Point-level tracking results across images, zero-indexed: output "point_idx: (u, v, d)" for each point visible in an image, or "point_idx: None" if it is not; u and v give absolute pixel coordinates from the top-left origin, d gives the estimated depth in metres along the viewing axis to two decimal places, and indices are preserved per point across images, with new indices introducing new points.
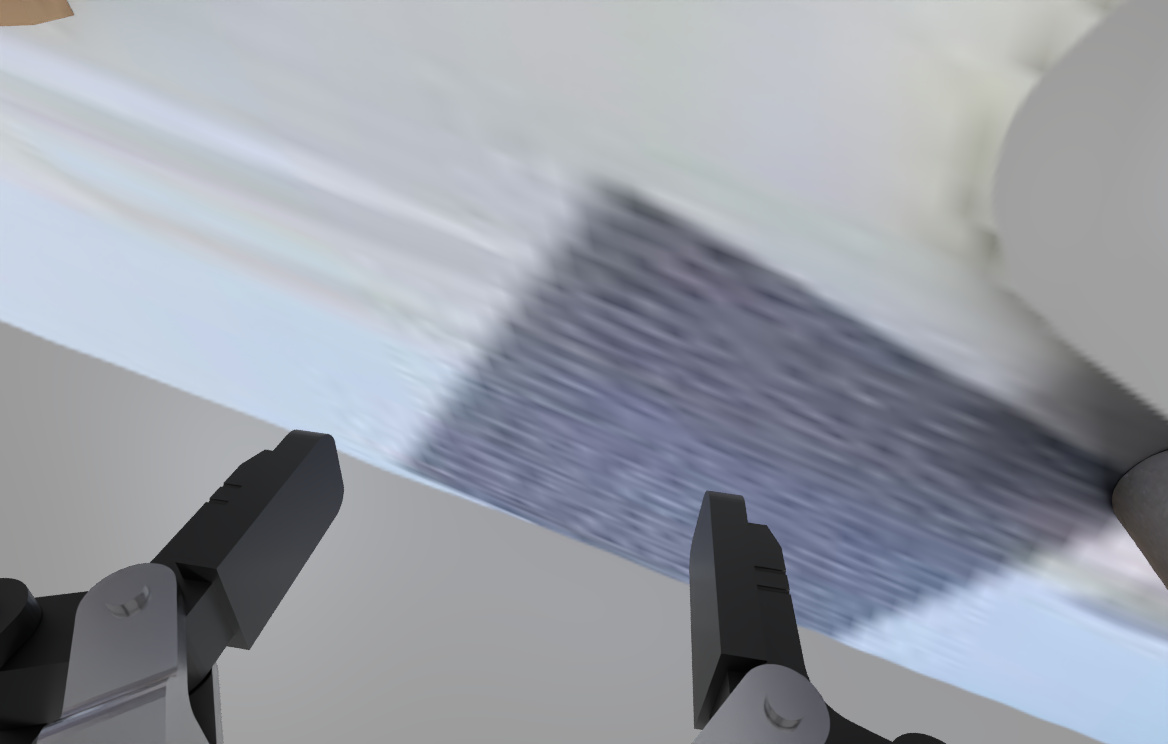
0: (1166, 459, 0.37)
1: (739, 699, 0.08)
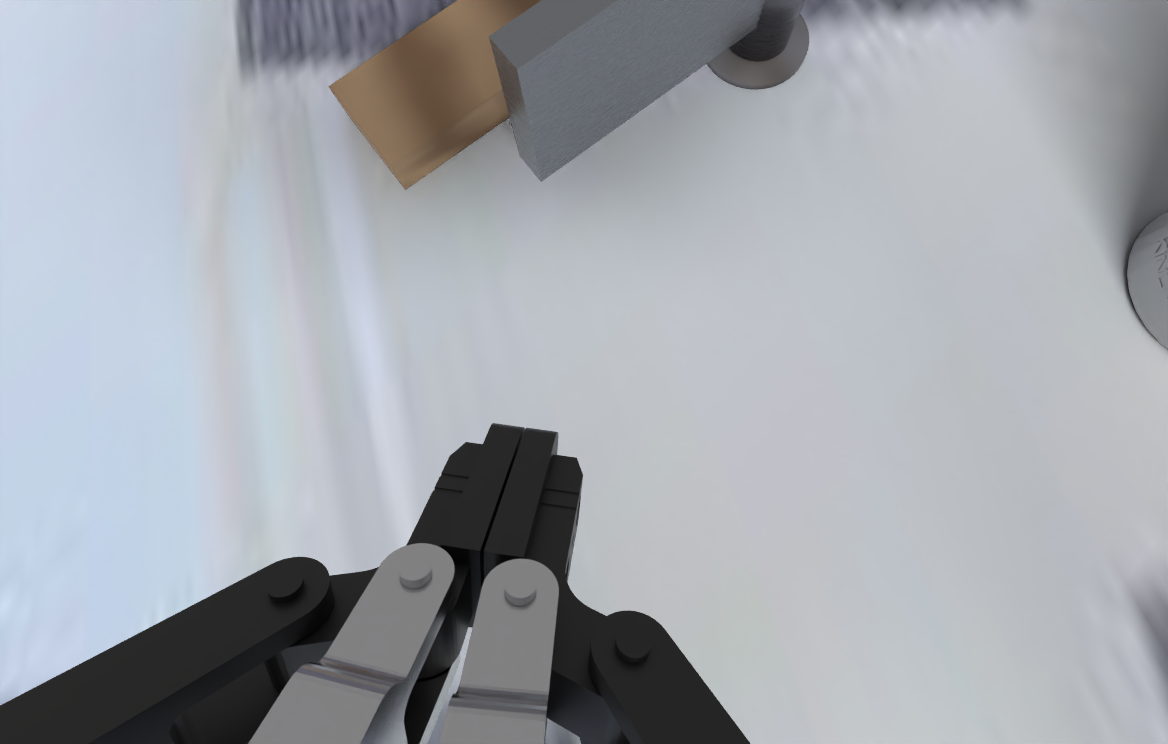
0: None
1: (483, 584, 0.09)
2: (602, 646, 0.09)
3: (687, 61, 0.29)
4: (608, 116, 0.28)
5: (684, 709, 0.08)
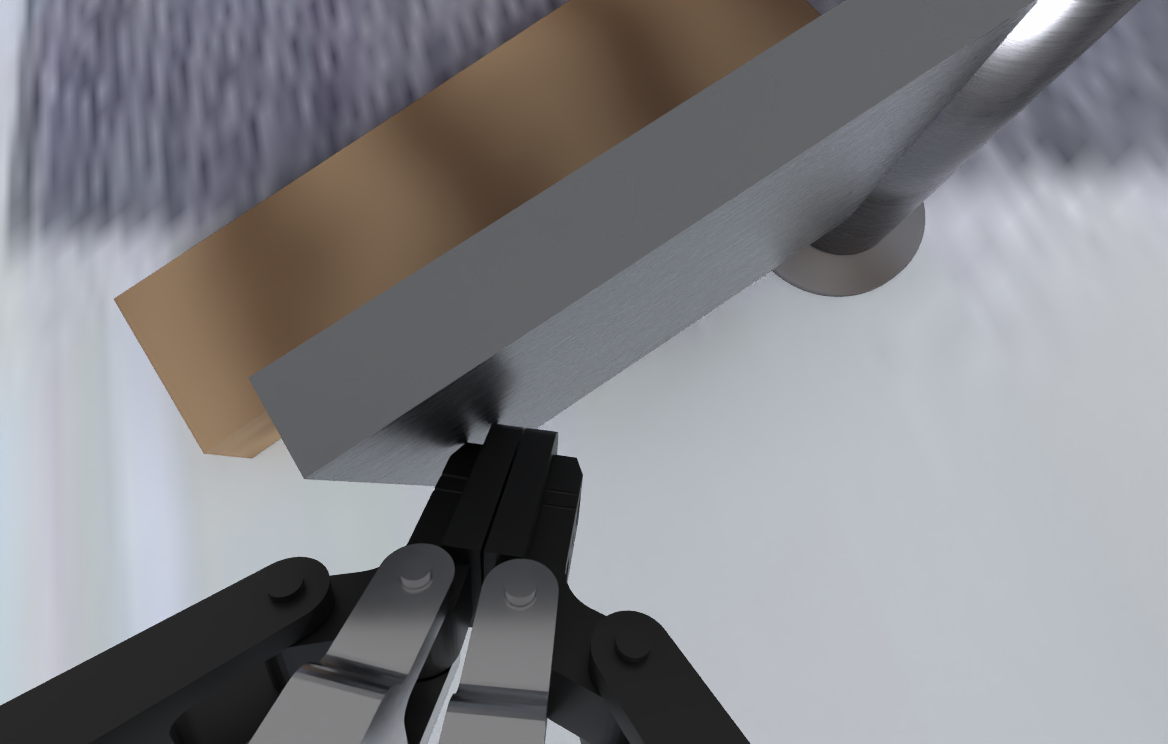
0: None
1: (483, 584, 0.09)
2: (602, 646, 0.09)
3: (725, 292, 0.16)
4: (574, 392, 0.15)
5: (684, 709, 0.08)
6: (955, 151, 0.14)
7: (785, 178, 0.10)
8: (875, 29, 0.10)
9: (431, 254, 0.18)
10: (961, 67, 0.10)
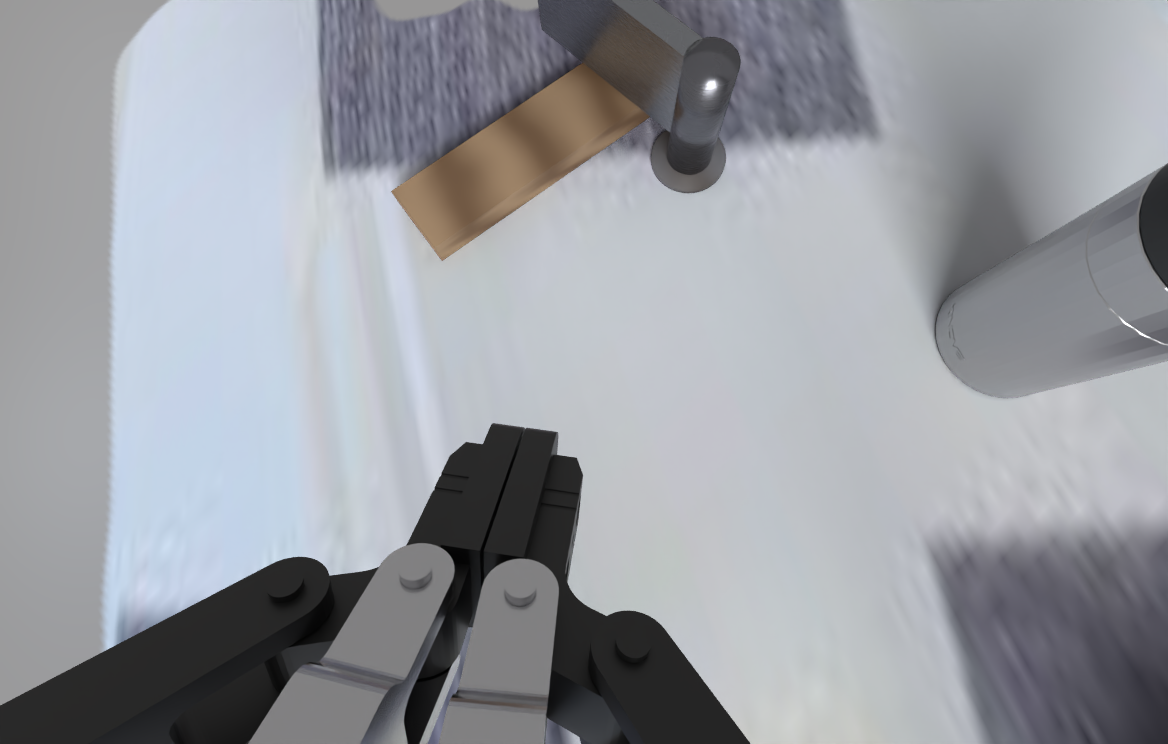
0: None
1: (483, 584, 0.09)
2: (602, 646, 0.09)
3: (625, 84, 0.45)
4: (578, 47, 0.46)
5: (684, 709, 0.08)
6: (676, 113, 0.41)
7: (625, 19, 0.39)
8: (664, 22, 0.38)
9: (519, 172, 0.46)
10: (670, 57, 0.38)
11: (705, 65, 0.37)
